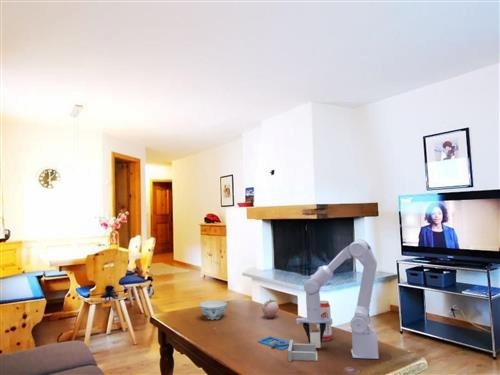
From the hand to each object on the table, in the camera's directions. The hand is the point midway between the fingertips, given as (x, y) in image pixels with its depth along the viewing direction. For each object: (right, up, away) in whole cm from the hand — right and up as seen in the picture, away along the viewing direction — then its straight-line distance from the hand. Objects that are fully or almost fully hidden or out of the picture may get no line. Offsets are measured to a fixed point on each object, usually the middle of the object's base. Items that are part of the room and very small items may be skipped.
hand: (315, 341), depth 149 cm
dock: (-5, -2, -7) cm, 9 cm away
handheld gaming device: (-16, -5, +8) cm, 18 cm away
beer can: (+6, -4, +11) cm, 13 cm away
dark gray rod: (-13, -3, +3) cm, 13 cm away
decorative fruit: (-16, -7, +46) cm, 49 cm away
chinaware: (-47, -8, +50) cm, 69 cm away
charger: (0, -2, 0) cm, 2 cm away
